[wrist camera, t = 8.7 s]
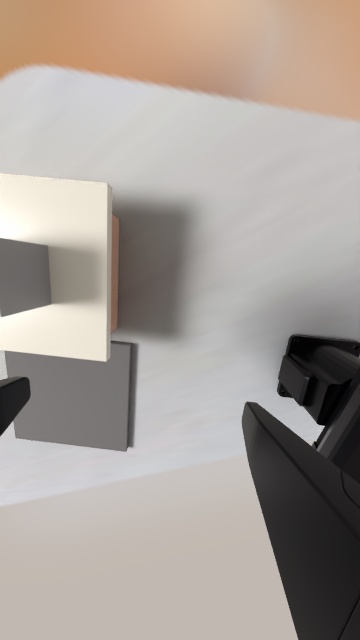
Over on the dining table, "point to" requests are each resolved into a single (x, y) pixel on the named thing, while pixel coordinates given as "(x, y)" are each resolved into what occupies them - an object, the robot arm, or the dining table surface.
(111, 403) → the mat
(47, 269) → the lid
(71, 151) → the dining table surface
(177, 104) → the dining table surface
